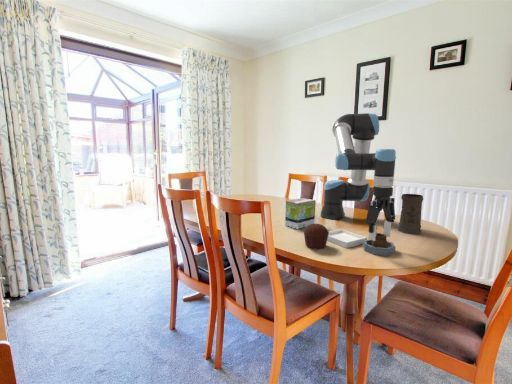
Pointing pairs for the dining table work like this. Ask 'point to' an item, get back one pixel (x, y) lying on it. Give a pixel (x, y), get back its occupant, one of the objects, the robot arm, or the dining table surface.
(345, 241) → the tray
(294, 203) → the tea box
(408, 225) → the beer stein
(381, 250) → the grey octagonal ring
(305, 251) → the dining table surface
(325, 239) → the muffin
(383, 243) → the utensil holder
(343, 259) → the dining table surface
